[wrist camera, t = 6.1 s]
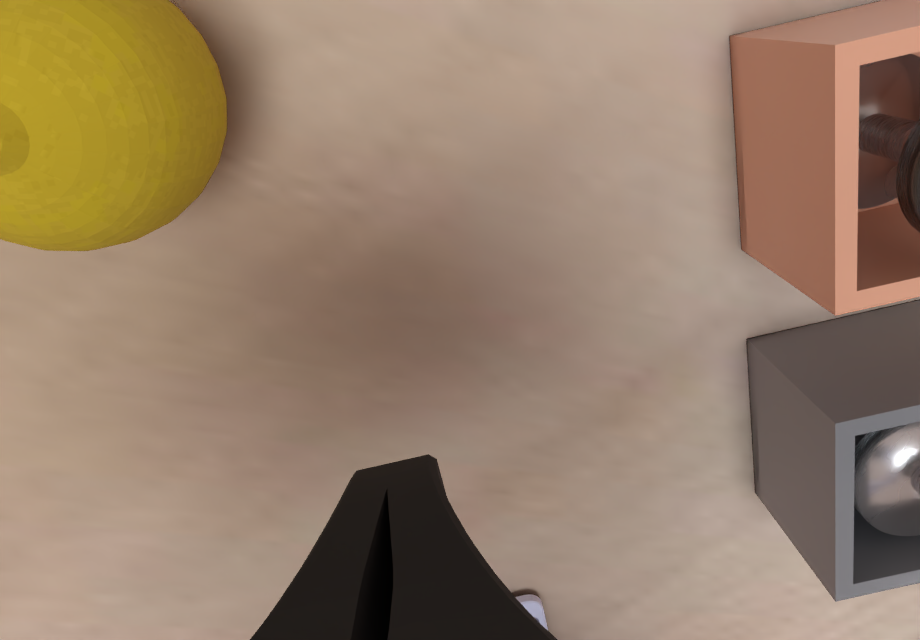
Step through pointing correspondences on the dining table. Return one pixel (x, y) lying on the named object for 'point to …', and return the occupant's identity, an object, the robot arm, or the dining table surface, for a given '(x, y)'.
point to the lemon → (103, 120)
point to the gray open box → (834, 438)
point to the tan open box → (820, 156)
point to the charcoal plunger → (889, 479)
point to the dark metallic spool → (890, 135)
